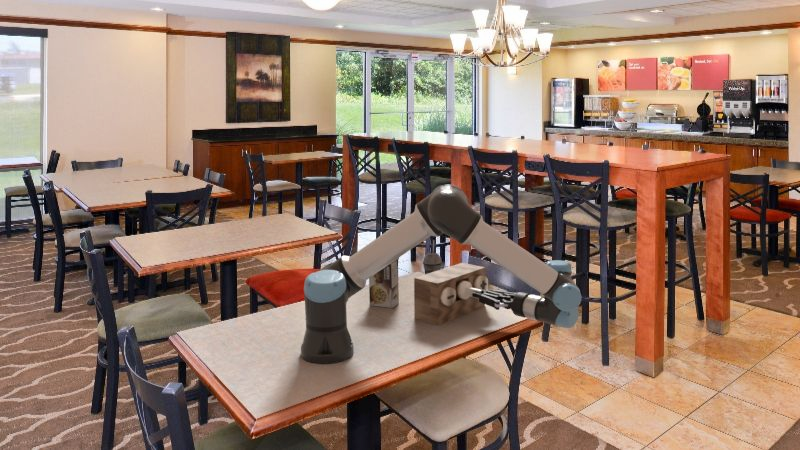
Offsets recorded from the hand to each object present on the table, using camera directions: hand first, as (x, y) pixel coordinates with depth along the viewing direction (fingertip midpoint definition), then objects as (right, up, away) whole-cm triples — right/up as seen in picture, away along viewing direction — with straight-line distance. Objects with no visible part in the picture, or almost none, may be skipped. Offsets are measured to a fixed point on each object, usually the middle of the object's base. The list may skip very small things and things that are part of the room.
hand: (467, 291), depth 215 cm
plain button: (-1, -3, +1) cm, 3 cm away
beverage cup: (-10, -4, +28) cm, 31 cm away
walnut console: (-4, -8, +6) cm, 11 cm away
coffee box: (-28, -7, +15) cm, 33 cm away
